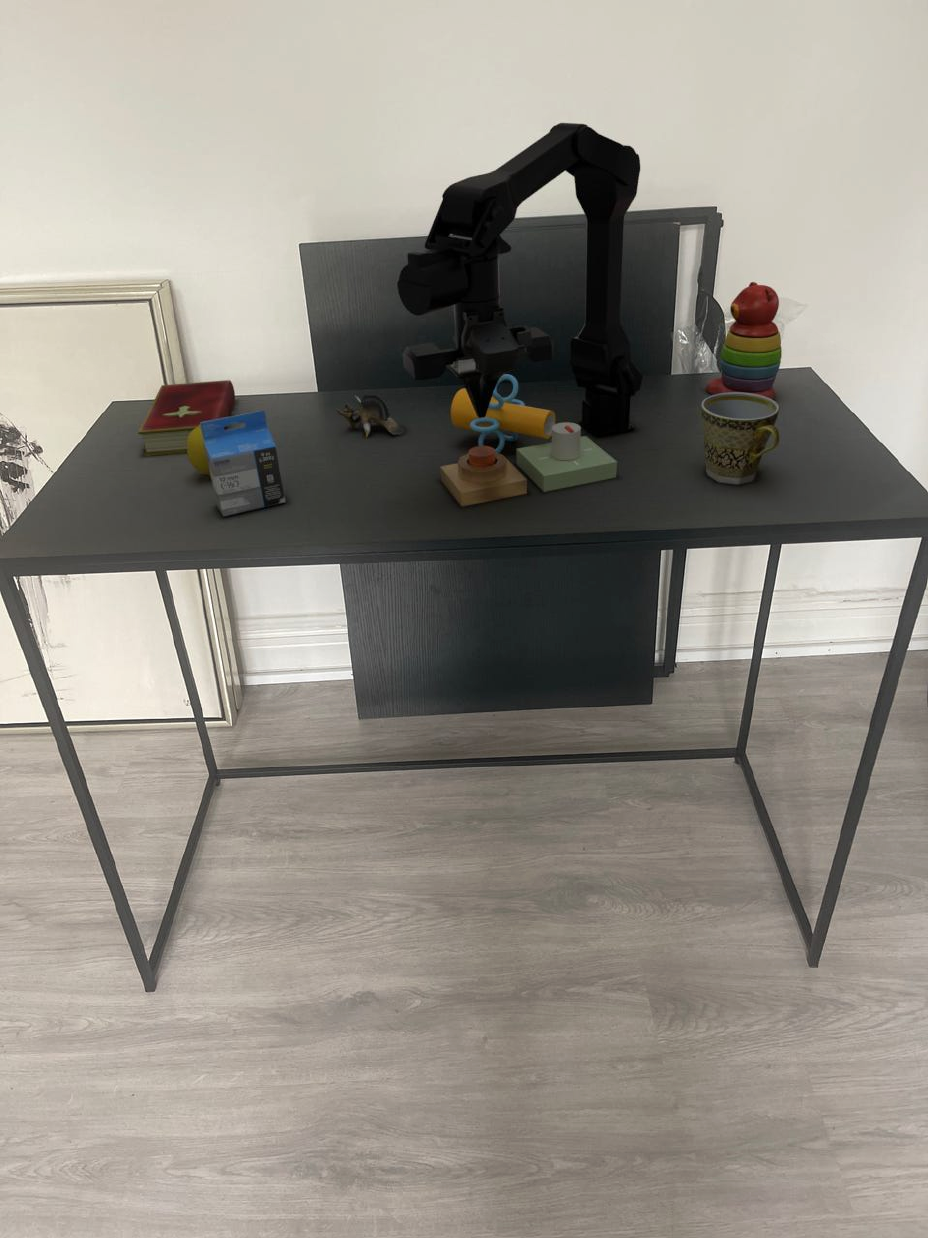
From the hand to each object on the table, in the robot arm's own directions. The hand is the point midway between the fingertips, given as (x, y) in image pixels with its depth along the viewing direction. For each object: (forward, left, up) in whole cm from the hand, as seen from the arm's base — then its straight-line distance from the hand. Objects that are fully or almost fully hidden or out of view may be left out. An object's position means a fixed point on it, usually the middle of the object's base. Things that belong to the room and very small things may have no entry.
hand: (481, 416), depth 121 cm
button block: (0, 0, -10) cm, 10 cm away
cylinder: (-2, -17, -5) cm, 17 cm away
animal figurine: (+9, -26, -10) cm, 29 cm away
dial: (-12, 0, -8) cm, 15 cm away
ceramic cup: (-33, +12, -10) cm, 37 cm away
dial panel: (-12, 0, -10) cm, 16 cm away
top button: (0, 0, -7) cm, 7 cm away
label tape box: (+31, -8, -10) cm, 34 cm away
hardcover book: (+36, -41, -10) cm, 55 cm away
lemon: (+35, -20, -10) cm, 42 cm away
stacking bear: (-51, -14, -10) cm, 54 cm away
